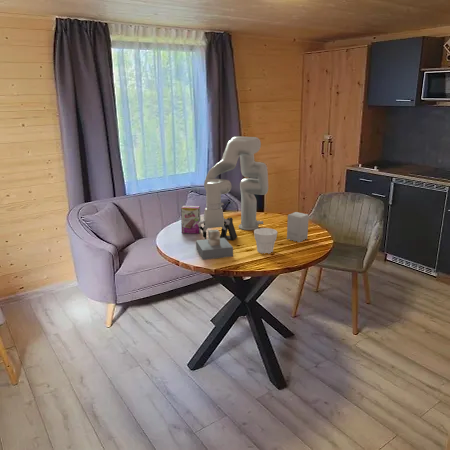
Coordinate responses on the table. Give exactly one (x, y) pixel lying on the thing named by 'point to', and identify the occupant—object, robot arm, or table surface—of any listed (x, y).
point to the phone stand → (230, 230)
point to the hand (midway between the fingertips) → (214, 237)
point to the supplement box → (297, 226)
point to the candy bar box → (190, 219)
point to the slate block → (214, 249)
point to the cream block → (213, 237)
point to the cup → (265, 239)
